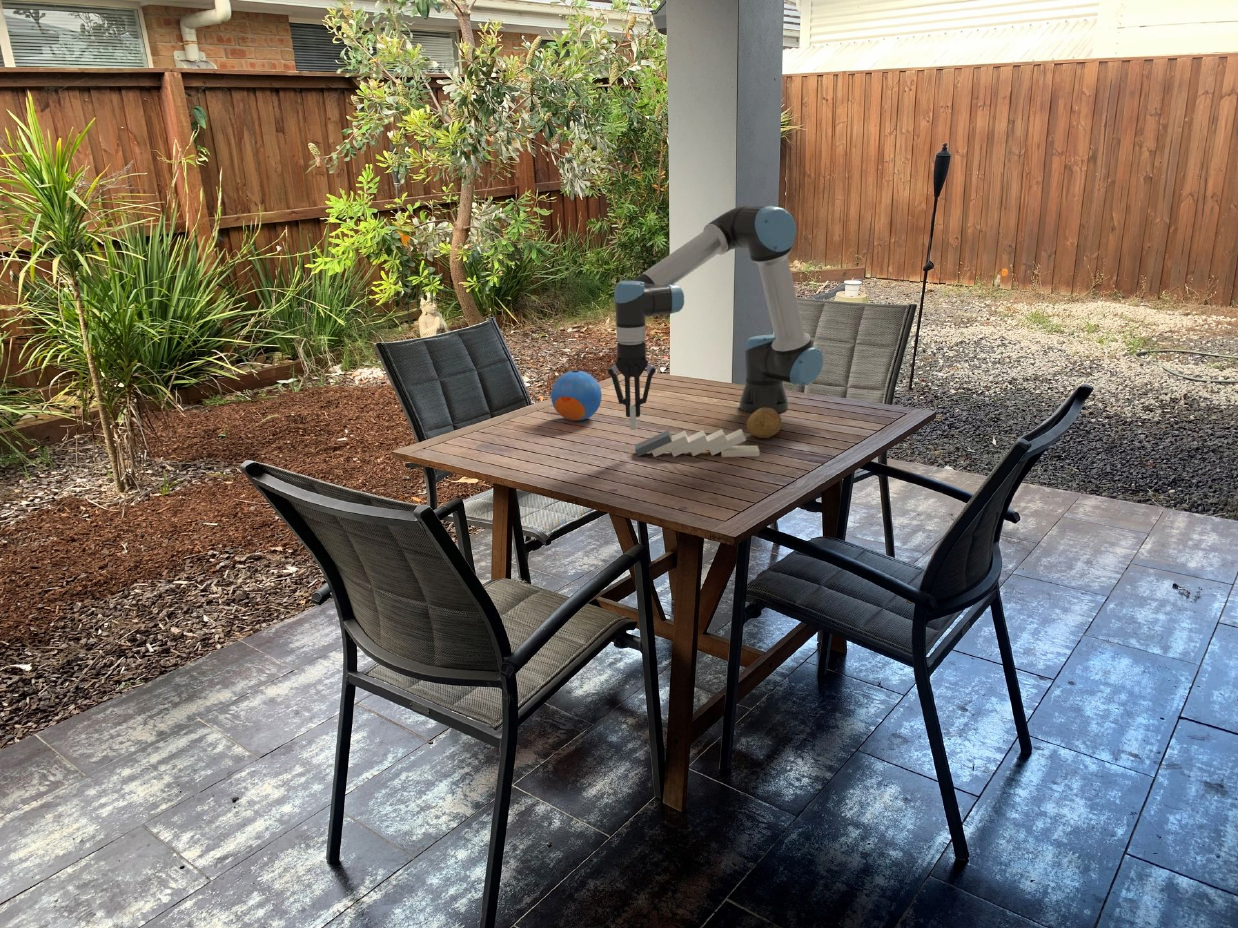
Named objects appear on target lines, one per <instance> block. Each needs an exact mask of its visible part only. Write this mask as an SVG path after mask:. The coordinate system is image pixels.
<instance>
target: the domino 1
mask: <svg viewBox="0 0 1238 928" xmlns="http://www.w3.org/2000/svg"><path fill="white" fill-rule="evenodd" d="M672 436H673V435H672V434H671V431H670V430H669V429H667V430H665V431H663V432H660V433H659V434H657V435H654V436H652V437H649V438H648V439H646V440H643V441H641V442H639V443H637V444H635V445H634V446H635V447H634V452H636V453H635V454H636V455H637V457H641V456H643V455H645V454H648V453H650V452H652V450H654V449H656V448H659V447H661V446H663V445H665V444H668V443H670V442H672Z"/></svg>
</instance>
